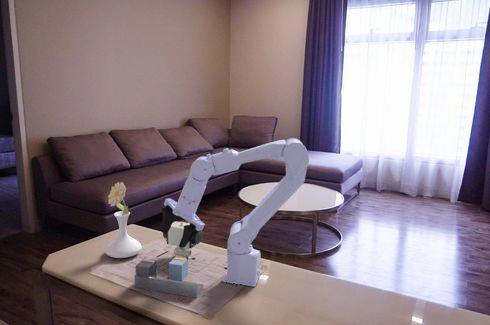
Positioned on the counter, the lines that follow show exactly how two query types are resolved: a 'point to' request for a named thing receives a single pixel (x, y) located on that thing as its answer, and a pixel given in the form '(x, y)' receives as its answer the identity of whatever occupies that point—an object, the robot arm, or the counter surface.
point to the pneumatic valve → (175, 237)
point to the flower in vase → (121, 227)
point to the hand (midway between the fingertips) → (173, 239)
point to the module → (178, 269)
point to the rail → (162, 281)
